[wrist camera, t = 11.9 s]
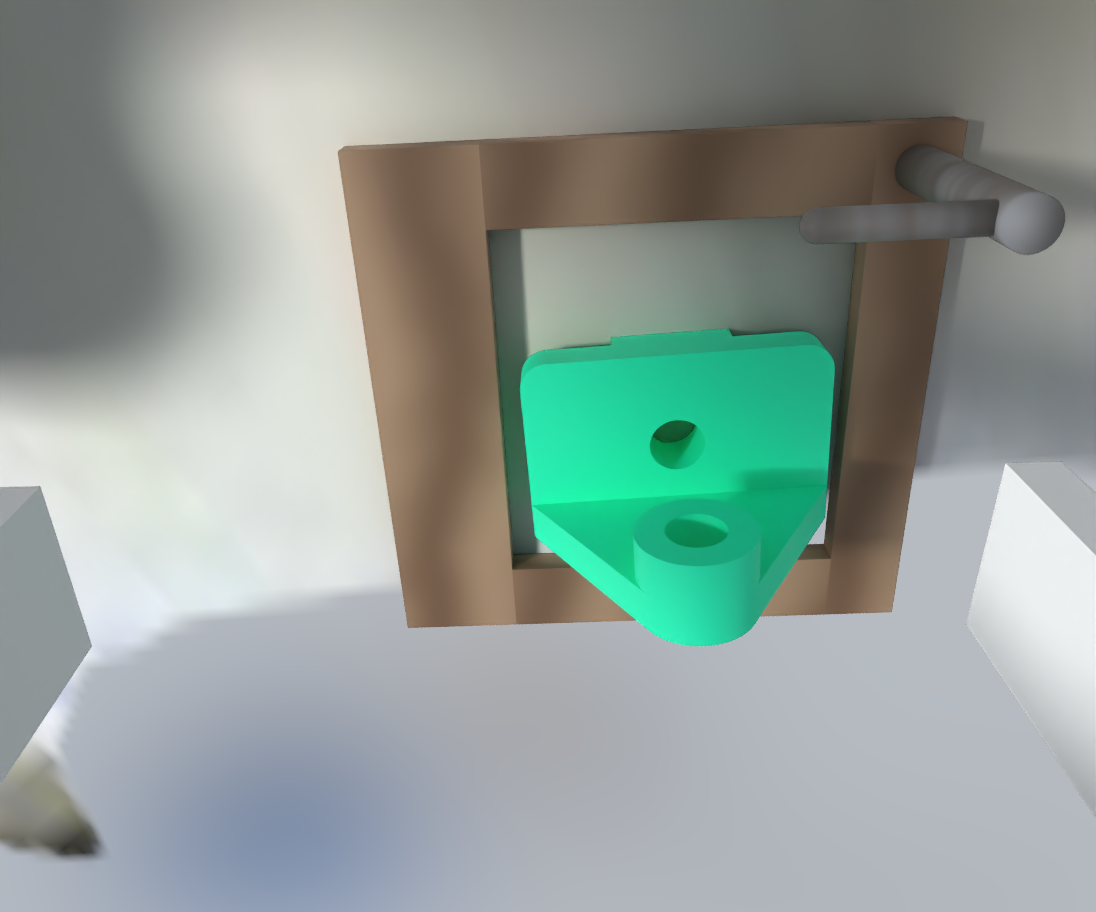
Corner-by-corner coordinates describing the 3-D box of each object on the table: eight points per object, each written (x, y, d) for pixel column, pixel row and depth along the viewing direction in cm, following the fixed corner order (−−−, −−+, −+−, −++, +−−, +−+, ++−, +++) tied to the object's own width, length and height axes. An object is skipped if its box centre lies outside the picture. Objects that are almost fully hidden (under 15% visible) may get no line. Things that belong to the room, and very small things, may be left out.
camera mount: (818, 320, 36) (906, 431, 27) (809, 486, 40) (884, 635, 31) (519, 342, 37) (507, 459, 28) (536, 504, 40) (530, 656, 31)
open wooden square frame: (411, 612, 43) (373, 775, 34) (344, 146, 33) (267, 203, 24) (883, 596, 42) (970, 758, 33) (954, 116, 32) (1103, 164, 24)
